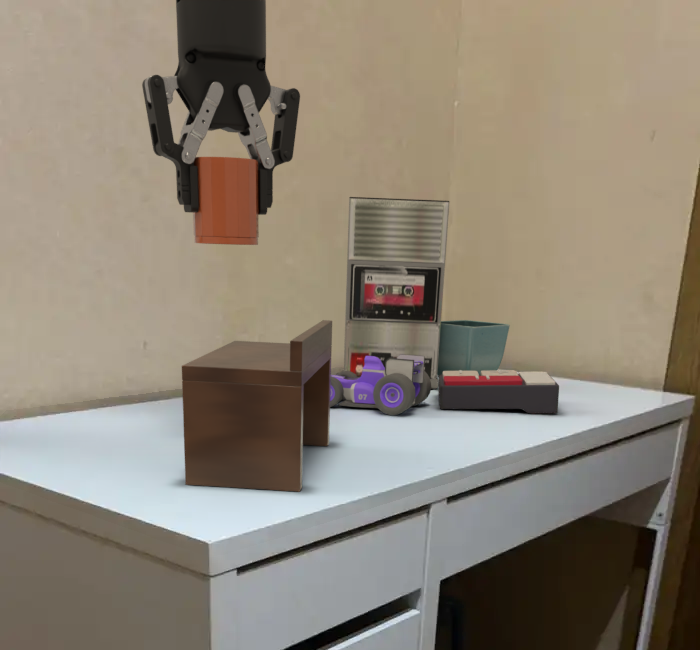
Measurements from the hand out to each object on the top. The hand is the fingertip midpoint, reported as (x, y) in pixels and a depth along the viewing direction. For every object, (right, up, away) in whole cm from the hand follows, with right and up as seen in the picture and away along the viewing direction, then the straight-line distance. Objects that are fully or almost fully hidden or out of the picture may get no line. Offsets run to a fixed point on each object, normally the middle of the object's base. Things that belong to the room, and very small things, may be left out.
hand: (225, 212), depth 85 cm
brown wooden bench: (+3, -22, +4) cm, 23 cm away
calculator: (+31, -8, +40) cm, 51 cm away
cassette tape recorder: (+17, -2, +53) cm, 56 cm away
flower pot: (+28, -2, +56) cm, 63 cm away
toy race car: (+13, -9, +36) cm, 39 cm away
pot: (0, -2, +1) cm, 3 cm away
